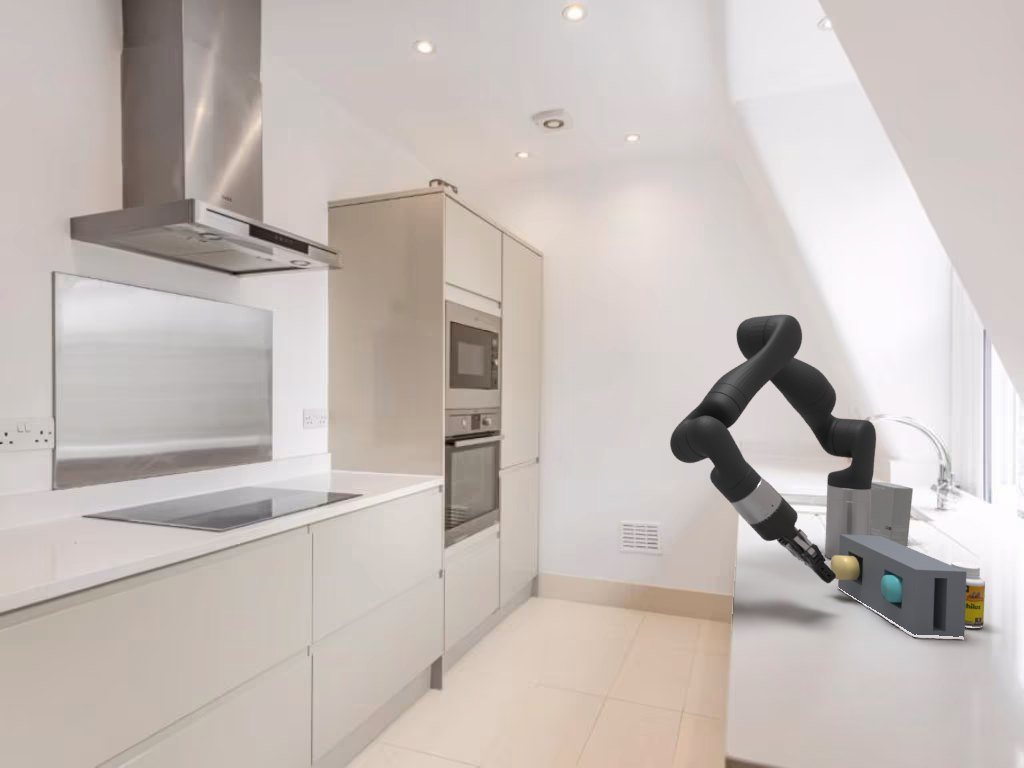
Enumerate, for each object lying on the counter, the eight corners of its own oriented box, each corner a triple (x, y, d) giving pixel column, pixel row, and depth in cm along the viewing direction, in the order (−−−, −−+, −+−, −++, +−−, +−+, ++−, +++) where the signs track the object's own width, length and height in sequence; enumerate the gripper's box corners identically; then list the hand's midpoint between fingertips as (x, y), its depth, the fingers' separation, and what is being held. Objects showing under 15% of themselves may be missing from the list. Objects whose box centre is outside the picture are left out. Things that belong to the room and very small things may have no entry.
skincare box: (863, 539, 168) (865, 481, 168) (883, 538, 170) (885, 481, 170) (890, 547, 160) (892, 486, 160) (911, 546, 162) (913, 486, 162)
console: (913, 638, 99) (916, 569, 99) (837, 589, 123) (839, 534, 123) (964, 640, 99) (966, 571, 99) (878, 591, 123) (880, 535, 123)
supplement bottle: (945, 625, 105) (947, 565, 105) (941, 615, 110) (943, 558, 110) (986, 633, 103) (988, 571, 103) (980, 622, 107) (982, 563, 108)
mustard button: (841, 582, 115) (842, 558, 115) (830, 575, 120) (831, 552, 120) (859, 583, 115) (860, 559, 115) (847, 576, 120) (847, 553, 120)
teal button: (895, 605, 103) (896, 579, 103) (880, 597, 108) (881, 571, 108) (915, 606, 103) (915, 580, 103) (899, 597, 107) (899, 572, 107)
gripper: (794, 499, 102) (867, 576, 102) (763, 486, 116) (827, 554, 116) (761, 531, 103) (834, 607, 102) (734, 514, 116) (798, 581, 116)
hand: (830, 578), depth 109 cm, fingers closed
